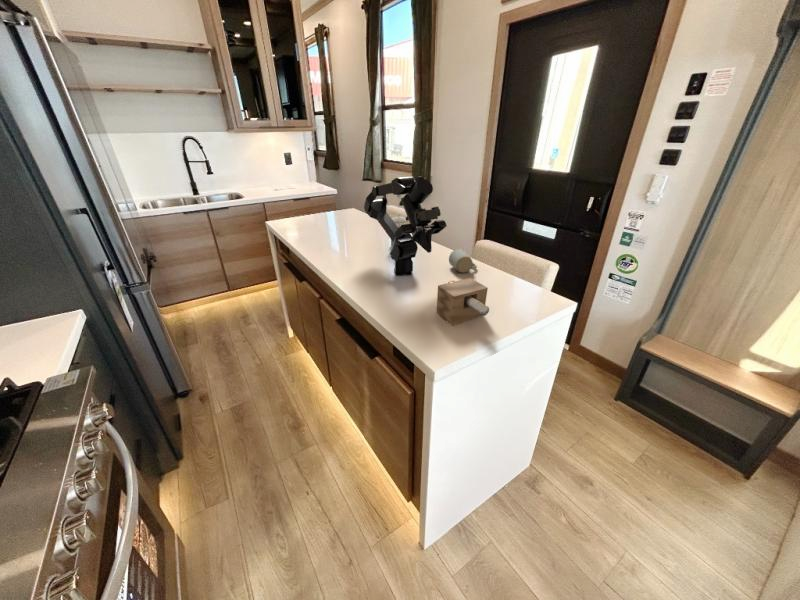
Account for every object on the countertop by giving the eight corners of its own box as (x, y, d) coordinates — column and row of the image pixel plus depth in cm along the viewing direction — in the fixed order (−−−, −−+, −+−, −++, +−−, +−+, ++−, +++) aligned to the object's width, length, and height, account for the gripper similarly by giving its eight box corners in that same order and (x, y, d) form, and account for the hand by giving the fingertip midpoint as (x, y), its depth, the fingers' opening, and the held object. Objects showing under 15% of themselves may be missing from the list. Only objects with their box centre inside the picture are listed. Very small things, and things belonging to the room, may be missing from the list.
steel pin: (443, 297, 100) (444, 282, 97) (456, 294, 102) (458, 279, 99) (476, 321, 87) (478, 305, 85) (491, 317, 89) (493, 300, 87)
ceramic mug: (455, 274, 125) (457, 256, 122) (447, 267, 132) (449, 249, 129) (480, 272, 128) (482, 254, 124) (471, 265, 135) (473, 247, 131)
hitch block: (436, 313, 99) (437, 285, 94) (467, 304, 104) (470, 277, 99) (451, 325, 93) (454, 296, 88) (483, 315, 97) (487, 287, 93)
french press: (393, 253, 147) (392, 197, 135) (384, 245, 157) (383, 192, 145) (412, 250, 151) (413, 195, 139) (402, 243, 160) (402, 191, 148)
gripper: (403, 199, 98) (420, 245, 96) (447, 196, 108) (464, 238, 106) (387, 217, 108) (403, 260, 106) (429, 213, 117) (445, 251, 116)
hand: (429, 252), depth 108 cm, fingers closed
